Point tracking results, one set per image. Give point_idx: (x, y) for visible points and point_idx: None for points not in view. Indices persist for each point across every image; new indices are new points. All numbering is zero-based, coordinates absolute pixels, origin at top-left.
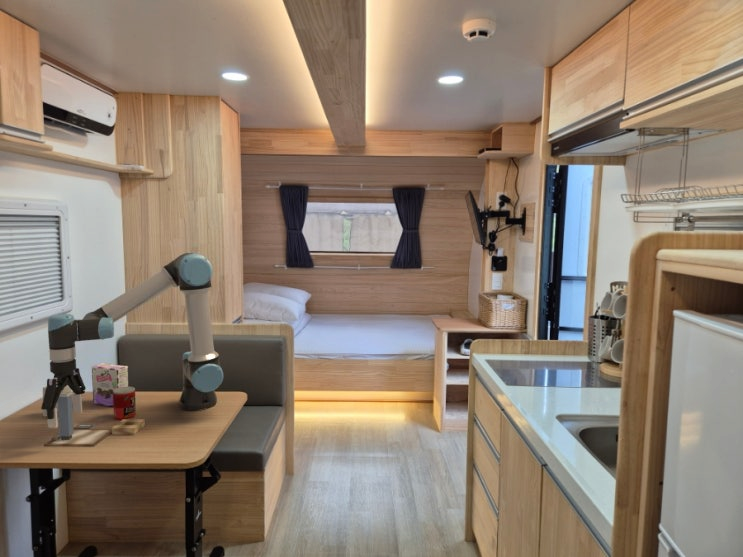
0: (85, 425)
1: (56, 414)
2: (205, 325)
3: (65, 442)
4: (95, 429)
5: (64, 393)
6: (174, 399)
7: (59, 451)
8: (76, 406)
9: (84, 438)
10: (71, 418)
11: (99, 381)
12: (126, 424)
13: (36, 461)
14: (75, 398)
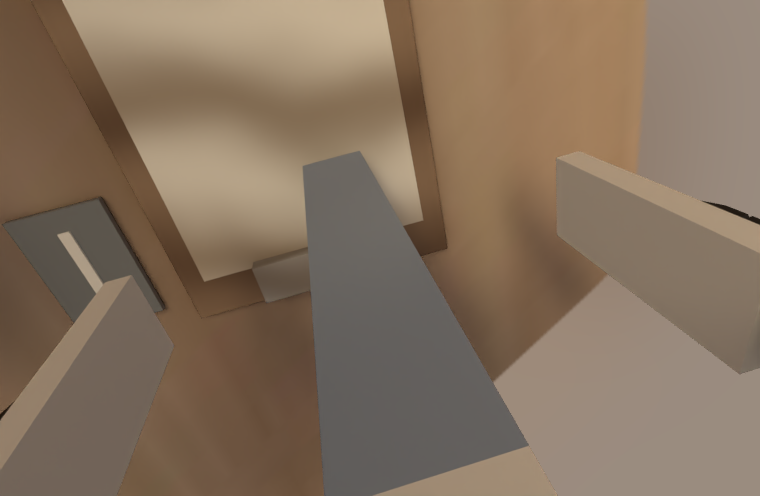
0: (84, 264)
1: (687, 207)
2: None
3: (392, 139)
4: (95, 115)
5: None
6: None
7: (502, 72)
8: (131, 368)
9: (289, 46)
10: (329, 214)
11: None
12: None
13: (640, 96)
14: (85, 482)
